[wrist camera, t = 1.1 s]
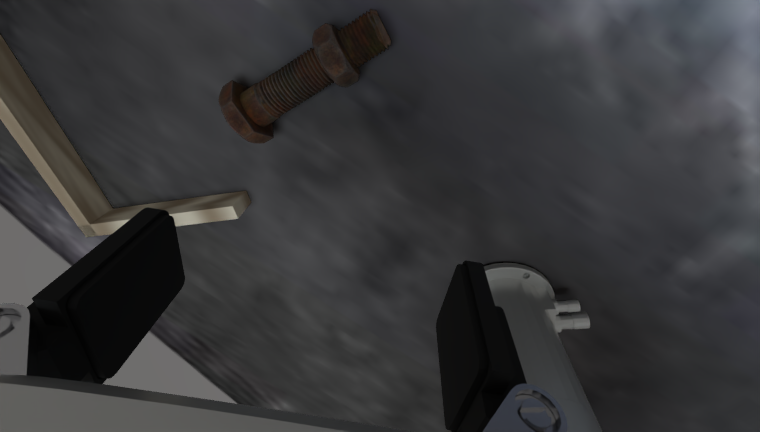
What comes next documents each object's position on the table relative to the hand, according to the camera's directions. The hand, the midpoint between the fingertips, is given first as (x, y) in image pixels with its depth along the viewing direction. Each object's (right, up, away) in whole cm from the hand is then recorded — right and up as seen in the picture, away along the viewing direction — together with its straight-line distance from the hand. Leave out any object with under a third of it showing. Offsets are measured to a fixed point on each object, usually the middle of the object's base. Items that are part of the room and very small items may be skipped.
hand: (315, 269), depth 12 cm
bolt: (-4, +15, +20) cm, 26 cm away
